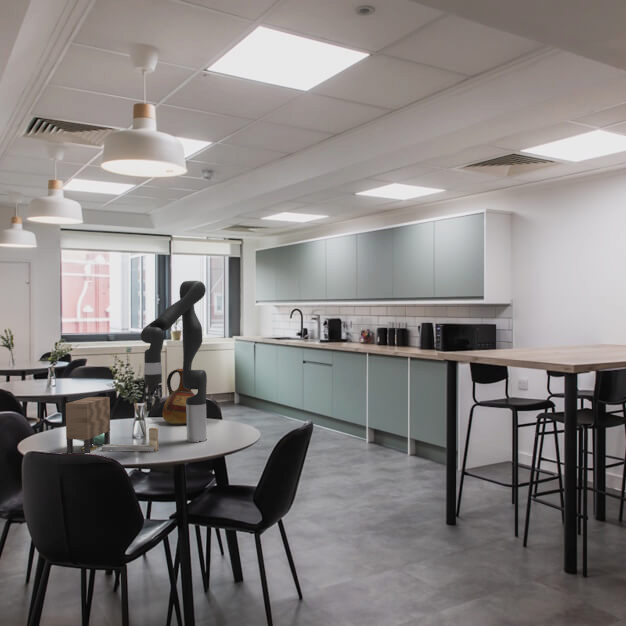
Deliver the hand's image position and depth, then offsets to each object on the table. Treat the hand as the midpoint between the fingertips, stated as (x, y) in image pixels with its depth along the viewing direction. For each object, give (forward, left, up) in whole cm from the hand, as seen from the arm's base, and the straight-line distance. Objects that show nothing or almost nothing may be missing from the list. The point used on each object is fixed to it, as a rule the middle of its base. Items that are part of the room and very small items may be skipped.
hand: (153, 409), depth 273 cm
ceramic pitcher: (-66, -13, -18) cm, 70 cm away
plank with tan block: (0, -11, -18) cm, 21 cm away
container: (-18, -38, -18) cm, 46 cm away
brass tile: (0, -31, -18) cm, 36 cm away
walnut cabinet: (0, -31, -18) cm, 36 cm away
